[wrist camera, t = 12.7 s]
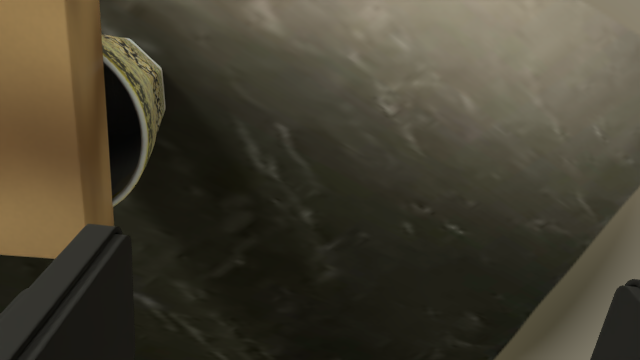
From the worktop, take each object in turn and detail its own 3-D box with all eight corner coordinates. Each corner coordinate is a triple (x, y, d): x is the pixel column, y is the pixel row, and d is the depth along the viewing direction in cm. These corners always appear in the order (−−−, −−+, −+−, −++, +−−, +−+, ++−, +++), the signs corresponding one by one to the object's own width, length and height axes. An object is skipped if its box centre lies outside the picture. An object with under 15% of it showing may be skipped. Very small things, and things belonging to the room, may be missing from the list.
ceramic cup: (197, 159, 38) (156, 223, 29) (53, 156, 38) (-34, 219, 29) (183, -42, 33) (128, -43, 24) (19, -45, 33) (-99, -48, 24)
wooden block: (-52, -49, 24) (-112, -51, 21) (97, -36, 24) (62, -36, 21) (-10, 219, 29) (-53, 251, 25) (114, 228, 29) (87, 261, 26)
